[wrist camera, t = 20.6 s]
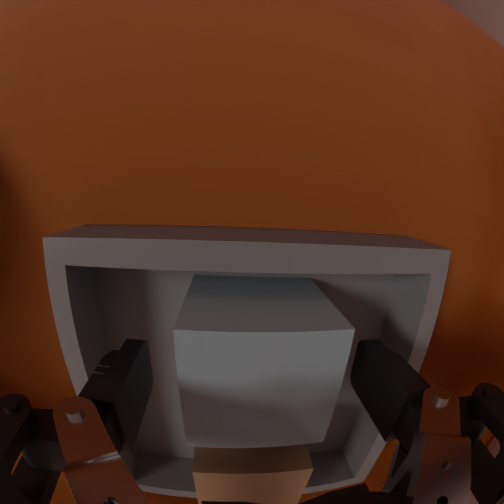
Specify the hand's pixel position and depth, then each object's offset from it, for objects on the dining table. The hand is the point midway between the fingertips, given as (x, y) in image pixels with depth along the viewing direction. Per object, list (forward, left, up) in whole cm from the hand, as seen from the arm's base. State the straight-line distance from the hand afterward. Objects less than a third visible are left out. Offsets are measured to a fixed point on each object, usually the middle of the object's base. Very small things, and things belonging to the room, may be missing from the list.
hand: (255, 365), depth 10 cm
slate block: (0, 0, -3) cm, 3 cm away
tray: (0, -4, -4) cm, 5 cm away
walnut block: (0, -7, -3) cm, 8 cm away
